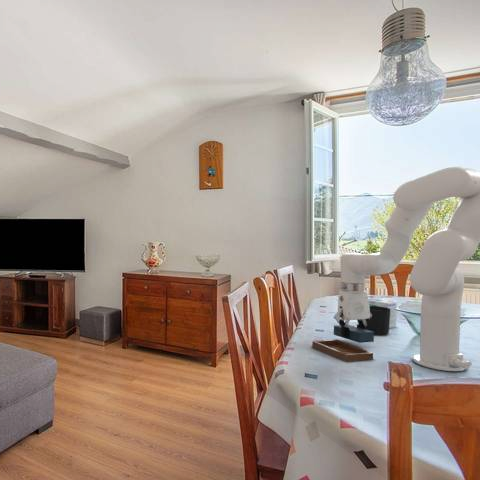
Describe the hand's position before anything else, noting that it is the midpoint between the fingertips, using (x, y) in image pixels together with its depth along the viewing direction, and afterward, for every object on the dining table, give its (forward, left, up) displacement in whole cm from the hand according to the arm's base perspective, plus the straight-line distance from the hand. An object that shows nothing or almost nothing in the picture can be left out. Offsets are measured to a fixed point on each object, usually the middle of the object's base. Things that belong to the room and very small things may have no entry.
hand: (353, 336), depth 145 cm
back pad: (0, 0, -1) cm, 1 cm away
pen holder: (+11, -21, -3) cm, 24 cm away
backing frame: (-8, +12, -3) cm, 15 cm away
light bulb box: (+21, -33, -3) cm, 39 cm away
